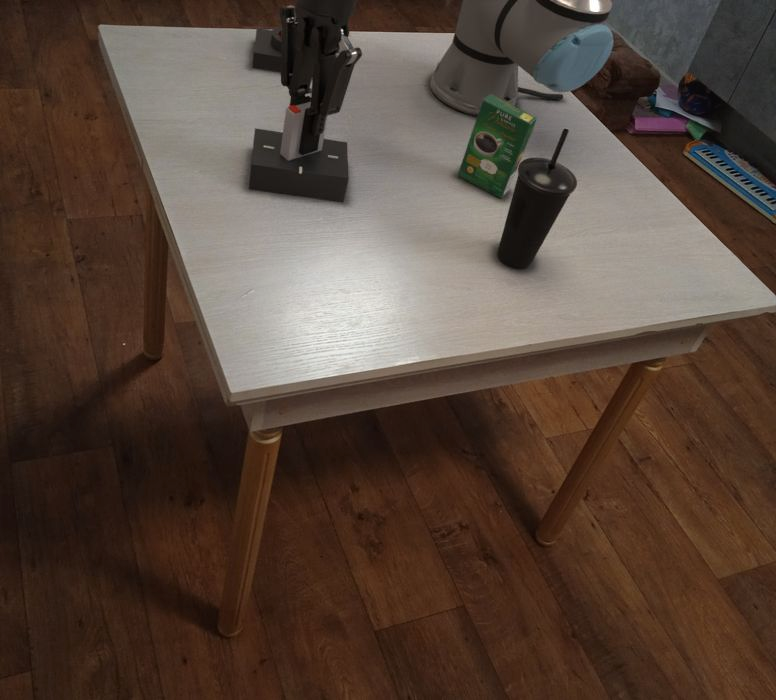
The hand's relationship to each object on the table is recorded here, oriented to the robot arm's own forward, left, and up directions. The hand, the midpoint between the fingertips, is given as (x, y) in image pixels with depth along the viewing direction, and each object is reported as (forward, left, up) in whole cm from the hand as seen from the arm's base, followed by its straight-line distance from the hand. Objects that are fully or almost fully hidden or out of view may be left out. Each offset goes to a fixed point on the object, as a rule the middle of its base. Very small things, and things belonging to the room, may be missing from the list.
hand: (302, 146), depth 112 cm
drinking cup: (-30, +12, -5) cm, 33 cm away
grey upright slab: (0, 0, -1) cm, 1 cm away
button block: (+2, -34, -5) cm, 34 cm away
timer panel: (0, 0, -5) cm, 5 cm away
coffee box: (-28, -5, -5) cm, 29 cm away
